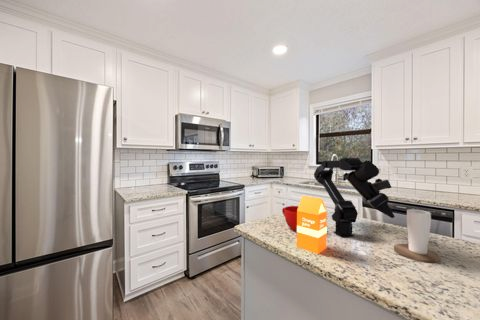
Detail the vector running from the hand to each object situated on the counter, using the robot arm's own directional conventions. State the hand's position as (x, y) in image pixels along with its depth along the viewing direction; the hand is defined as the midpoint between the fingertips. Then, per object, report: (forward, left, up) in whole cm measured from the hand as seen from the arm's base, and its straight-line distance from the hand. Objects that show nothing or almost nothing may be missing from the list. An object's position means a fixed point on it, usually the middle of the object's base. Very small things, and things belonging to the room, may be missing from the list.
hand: (390, 215), depth 82 cm
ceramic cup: (-27, +29, -13) cm, 41 cm away
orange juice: (-31, +7, -13) cm, 34 cm away
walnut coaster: (+4, -7, -13) cm, 15 cm away
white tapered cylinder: (+5, -7, -12) cm, 15 cm away
